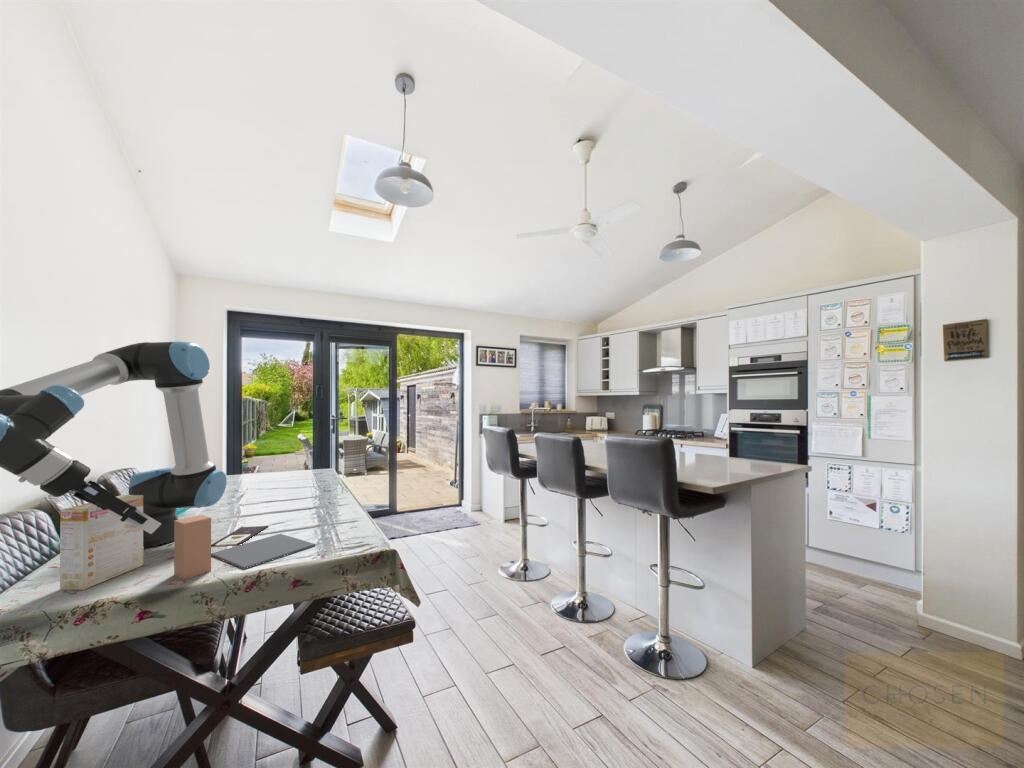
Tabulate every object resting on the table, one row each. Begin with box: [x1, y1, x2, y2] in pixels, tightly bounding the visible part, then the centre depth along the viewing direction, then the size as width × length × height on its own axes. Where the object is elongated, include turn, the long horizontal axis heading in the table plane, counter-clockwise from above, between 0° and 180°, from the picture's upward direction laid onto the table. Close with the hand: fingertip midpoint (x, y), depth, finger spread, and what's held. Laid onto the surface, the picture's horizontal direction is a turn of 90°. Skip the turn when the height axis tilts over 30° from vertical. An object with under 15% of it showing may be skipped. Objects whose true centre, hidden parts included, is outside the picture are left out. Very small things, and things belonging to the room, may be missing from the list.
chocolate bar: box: [211, 525, 269, 548], centre depth 138 cm, size 9×1×18 cm
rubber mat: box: [211, 533, 316, 569], centre depth 124 cm, size 20×20×1 cm
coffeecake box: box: [59, 494, 144, 591], centre depth 108 cm, size 15×7×20 cm, turn 174°
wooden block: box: [173, 514, 212, 580], centre depth 109 cm, size 6×6×14 cm
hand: (145, 524), depth 101 cm, fingers open, 13 cm apart
